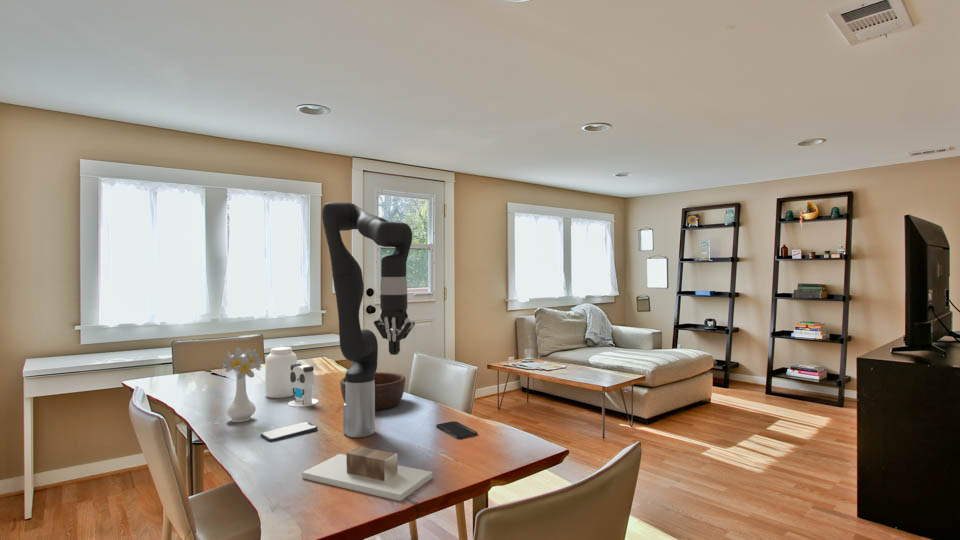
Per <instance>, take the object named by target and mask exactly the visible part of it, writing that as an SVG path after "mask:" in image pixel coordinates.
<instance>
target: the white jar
mask: <svg viewBox="0 0 960 540" xmlns="http://www.w3.org/2000/svg"><path fill="white" fill-rule="evenodd" d="M269 351H270V353H269V354H268V355H266V358H265V362H264V363H265V364H264V365H265V396H266V397H267V398H271V399H281V398H282V399H283V398H284V399H285V398H288V397H292V396H295V394H294V393H293V388H294V387H293V385H292V382H291V380H290V375H291V372H292V371H291V369H290V367H291V365H293V364H298V357H297V354H296V353H295V352H293V348H292V347H291V346H278V347H277V346H276V347H272V348H271V349H270V350H269Z"/></svg>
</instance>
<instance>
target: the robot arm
mask: <svg viewBox="0 0 960 540" xmlns="http://www.w3.org/2000/svg"><path fill="white" fill-rule="evenodd" d="M321 211H322V212H321V216H322V217H321V218H322V224H323V228H324V234H325V238H326V241H327V246H328V250H329V257H330V261H331V263H330V264H331V273H332V280H333V287H334V293H335V299H336V308H337V315H338V316H337V317H338V331H339V333H338V335H339V348H340V352H341V354H342V356H343V357H344V358H345V359H346V360H348V361H350V362H351V365H350V366H349V368H348V369H347V370H346V371H345V375H344V376H345V390H346V403H345V402H344V403H343V405H342V422H343V423H342V426H343V427H342V430H343V432H342V433H343V435H345V436H347V437H350V438H365V437H366V438H367V437H370V436H373V435H374V434H375V433H376V410H375V372H377V370H378V359H379V358H378V354H379V352H378V351H379V349H378V348H379V343H378V339H377V336H376V335H375V333H374V332H373V331H372V330H370V329H365V328H364V329H362V328H361V322H360V309H361V305H362V300H363V297H364V291H365V287H364V286H365V285H364V284H365V283H364V279H363V271H362V269H361V266H360V263H359V262H358V261H357V260H356V259H355V257H354V256H353V255H352V254H351V252H349V250H348V249H347V247H346V245H345V244H344V242H343V237H342V235H341V232H343V231H344V232H345V231H351V230H352V231H353V230H357V231H358V233H359V234H360V235H362V236H363V237H364V238H367V239H370V240H372V241H373V242H374V243H375V244H376V245H377V246H380V247H384V248H394V250H393V253H392V254H390V255H386V256H383V257H382V258H381V262H380V263H381V264H380V272H381V273H380V286H379V288H380V290H379V291H380V292H379V294H380V298H379V299H380V304H379V305H380V310H381V313H380V315H379V317H378V318H379V319H377V320H374V321H373V325H374V326H375V328H376V329H377V331H378V333H379V334H380V336H381V338H382V339H385V340H387V341H388V353H389V354H390V356H391V355H394V356H396V355H399V353H400V351H401V340H404V339H406V338H408V337H407V336H409V334H410V332H411V331H412V330H413V328H414V327H415V324H416V322H415V321H411V320H410V319H409V315H408V313H407V312H408V310H407V309H408V280H407V261H408V258H409V257H408V256H409V254H410V250H411V246H412V243H413V242H412V241H413V231H412V228H411V226H410V225H409V224H408V223H405V222H396V221H388V220H386V219H385V218H384V217H380V216H377V215H373V214H370V213H369V212H367V211H365V210H364V209H362V208H360V207H359V206H358V205H356V204H354V203H352V202H346V201H345V202H344V201H343V202H338V201H337V202H333V201H332V202H330V201H329V202H326V203H324V204H323V206H322V209H321Z"/></svg>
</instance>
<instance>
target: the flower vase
mask: <svg viewBox="0 0 960 540" xmlns="http://www.w3.org/2000/svg"><path fill="white" fill-rule="evenodd" d="M251 351H252V349H251V348H246V349H245V350H242V349H241V348H240V347H236V348H235V352H234V353H233V354H232V355H231V351H230V350H228V352H227V356H226V357H225V358H224V359H223V362H222V366H221V368H220V371H221V370H223V369H224V368H225V372H226V373H228V372H231V371H232V370H233V371H234V372H235V377H236V380H235V381H236V382H235V383H236V384H235V385H236V389H235V395H234V398H233V401H232V402H231V403H230V405H229V406H228V407H227V409H226V413H225V414H226V416H227V417H228V418H230V419H231V422H232V423H244V422H248V421H250V420H251V419H252V416H253V415H254V414H255V413H256V411H257V409H256V405H255V404H254V402H253V401H251V400H250V399H249V396H248V393H247V385H246V383H247V382H246V381H247V379H246V376H247V377H248V378H251V379H252V378H254V377H255V373H254V372H253V370H254V369H255V370H257V371H261V369H262V365H261V364H262V363H263V362H264V361H263V359H262V358H260V355H259V354H257V348H255V349H254V350H253V351H252V352H251Z"/></svg>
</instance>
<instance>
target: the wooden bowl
mask: <svg viewBox="0 0 960 540" xmlns="http://www.w3.org/2000/svg"><path fill="white" fill-rule="evenodd" d="M339 383H340V391H341V395H342V396H341V397H342V399H343V401H344V404H345V403H346V390H345V377H343V378H341V379H340V381H339ZM405 384H406V376H404V375H403V374H400V373H397V372H388V371H387V372H385V371H376V372H375V411H382V410H387V409H390V408H391V409H392V408H393V407H396V406H397V405H399V404H400V402H401V401H402V398H403V395H404V391H405V386H406V385H405Z"/></svg>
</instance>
